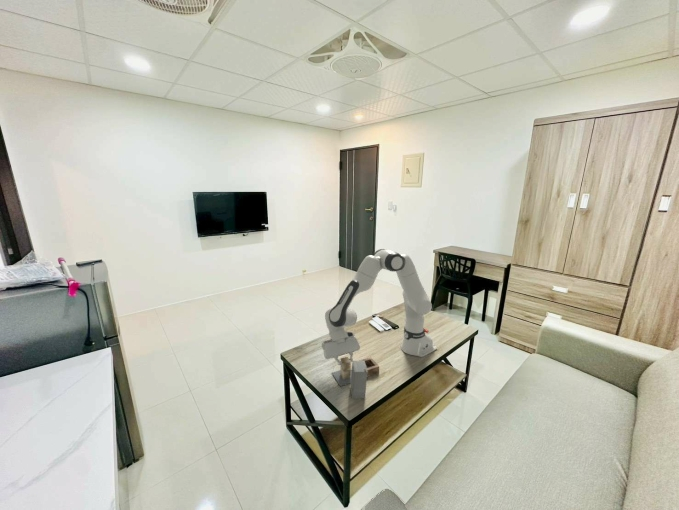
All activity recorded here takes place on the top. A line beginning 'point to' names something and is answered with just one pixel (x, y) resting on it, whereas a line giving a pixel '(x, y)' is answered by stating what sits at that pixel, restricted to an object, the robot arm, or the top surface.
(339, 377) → the slate mat
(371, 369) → the walnut pocket
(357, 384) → the skincare box
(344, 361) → the birch peg block
